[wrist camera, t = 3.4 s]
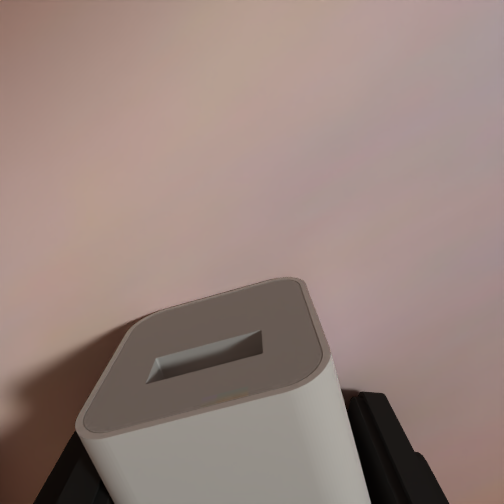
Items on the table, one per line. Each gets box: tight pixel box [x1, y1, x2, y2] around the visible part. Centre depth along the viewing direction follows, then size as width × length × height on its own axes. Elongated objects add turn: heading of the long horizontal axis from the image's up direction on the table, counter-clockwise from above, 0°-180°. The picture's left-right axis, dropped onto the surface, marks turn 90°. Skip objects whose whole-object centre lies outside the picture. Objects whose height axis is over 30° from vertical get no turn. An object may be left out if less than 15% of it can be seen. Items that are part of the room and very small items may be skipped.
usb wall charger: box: [75, 277, 371, 504], centre depth 8 cm, size 4×7×4 cm, turn 16°
